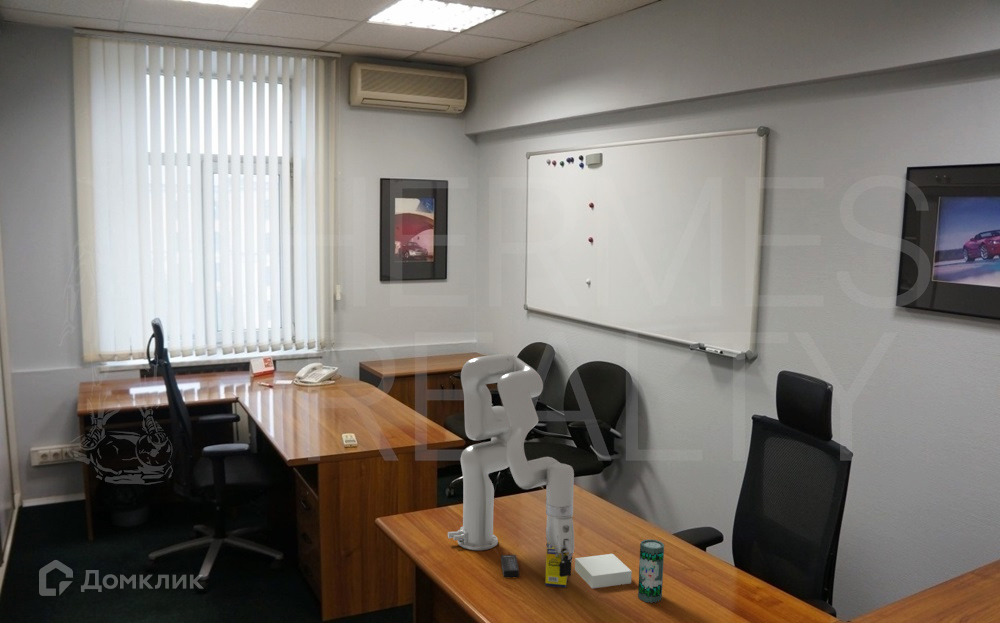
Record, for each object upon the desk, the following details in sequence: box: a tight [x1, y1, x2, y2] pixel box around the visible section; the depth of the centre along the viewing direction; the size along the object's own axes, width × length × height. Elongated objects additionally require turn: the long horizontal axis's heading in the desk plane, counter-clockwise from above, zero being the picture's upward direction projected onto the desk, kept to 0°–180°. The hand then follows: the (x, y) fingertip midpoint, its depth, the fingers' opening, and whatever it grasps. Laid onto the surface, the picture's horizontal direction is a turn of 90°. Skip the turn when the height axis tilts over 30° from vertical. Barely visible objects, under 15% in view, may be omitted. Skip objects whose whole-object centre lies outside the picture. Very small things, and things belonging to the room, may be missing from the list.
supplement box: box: [544, 543, 568, 588], centre depth 215 cm, size 6×6×11 cm
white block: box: [574, 553, 633, 589], centre depth 219 cm, size 12×12×4 cm
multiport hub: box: [500, 554, 520, 579], centre depth 223 cm, size 4×11×2 cm, turn 4°
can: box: [637, 538, 665, 604], centre depth 207 cm, size 6×6×15 cm
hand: (558, 568), depth 215 cm, fingers open, 9 cm apart
